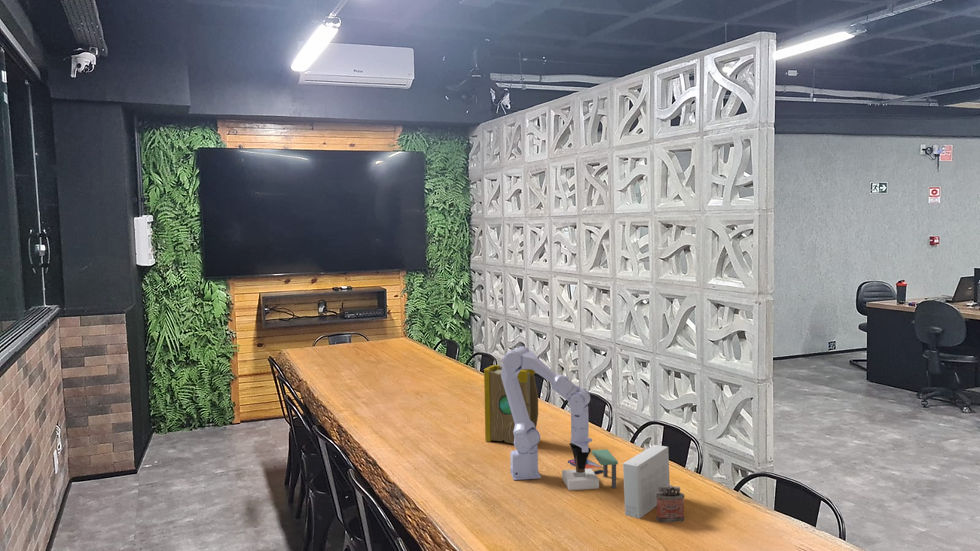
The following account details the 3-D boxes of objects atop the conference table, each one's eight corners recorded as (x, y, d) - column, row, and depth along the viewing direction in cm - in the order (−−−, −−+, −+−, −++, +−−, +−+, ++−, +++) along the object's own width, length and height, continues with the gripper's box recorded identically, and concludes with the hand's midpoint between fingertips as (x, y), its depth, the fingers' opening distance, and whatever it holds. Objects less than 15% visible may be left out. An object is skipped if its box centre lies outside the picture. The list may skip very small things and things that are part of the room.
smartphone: (583, 460, 252) (583, 457, 251) (607, 472, 238) (607, 469, 238) (566, 463, 248) (566, 460, 248) (589, 476, 235) (589, 473, 235)
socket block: (568, 490, 222) (568, 481, 222) (562, 478, 232) (562, 470, 232) (599, 488, 223) (598, 479, 223) (591, 477, 233) (591, 468, 233)
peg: (586, 472, 226) (585, 454, 225) (577, 473, 225) (577, 455, 225) (583, 469, 229) (583, 451, 228) (574, 469, 228) (574, 452, 228)
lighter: (682, 516, 201) (682, 483, 200) (685, 521, 197) (685, 488, 197) (654, 517, 200) (654, 484, 200) (658, 522, 197) (658, 488, 196)
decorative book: (482, 441, 273) (481, 367, 271) (495, 433, 283) (494, 361, 280) (528, 448, 264) (528, 371, 261) (540, 440, 274) (539, 366, 271)
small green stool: (601, 489, 222) (601, 462, 221) (591, 475, 234) (591, 450, 233) (617, 488, 223) (617, 461, 222) (607, 474, 235) (607, 449, 234)
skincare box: (654, 492, 219) (654, 443, 218) (670, 496, 216) (670, 446, 215) (622, 514, 203) (622, 462, 202) (639, 519, 200) (639, 466, 198)
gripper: (597, 432, 219) (597, 473, 220) (586, 419, 234) (586, 458, 235) (575, 433, 218) (576, 475, 220) (565, 420, 233) (566, 459, 234)
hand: (580, 466), depth 227 cm, fingers closed on peg, 3 cm apart
